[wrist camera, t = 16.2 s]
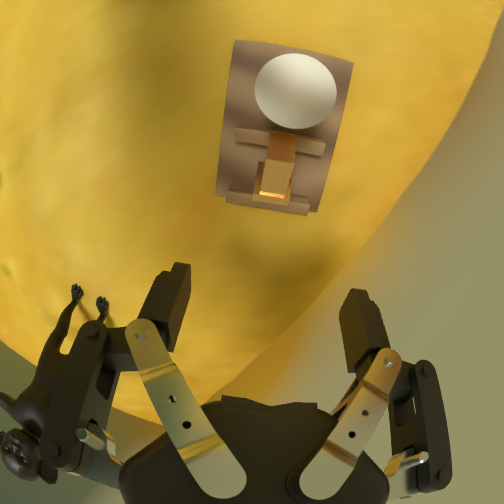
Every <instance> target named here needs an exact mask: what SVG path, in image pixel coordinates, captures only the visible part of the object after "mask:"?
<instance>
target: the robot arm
mask: <svg viewBox="0 0 504 504" xmlns="http://www.w3.org/2000/svg"><path fill="white" fill-rule="evenodd" d="M190 293H191V265H190V264H185V263H179V262H175V263H174V265H173V267H172V269H171V272H168V271H162V272H161V273H160V274H159V275H158V276H157V277H156V278H155V280H154V282H153V284H152V287H151V289H150V291H149V293H148V295H147V298H146V300H145V302H144V304H143V306H142V309H141V311H140V313H139V316H138V317H137V319H136V320H133V321H132V322H130V323H129V324H128V325H127V326H126V327H120V328H106V326H105V325H104V324H103V323H102V322H100V321H97V320H92V321H88V322H86V323H85V324H83V325H82V326H81V328H80V329H79V332H78V334H77V336H76V338H75V341H74V343H73V345H72V348H71V350H70V352H69V355H68V357H67V360H66V362H65V365H64V367H63V370H62V373H61V375H60V378H59V381H58V383H57V386H56V389H55V392H54V395H53V398H52V401H51V404H50V407H49V410H48V414H47V417H46V420H45V424H44V428H43V431H42V435H41V439H40V443H39V451H40V454H41V457H42V458H43V460H44V461H45V462H46V463H47V464H48V465H49V466H51V467H54V468H57V469H59V470H61V471H64V472H66V473H70V474H73V475H77V476H83V477H86V478H88V479H91V480H93V481H96V482H99V483H102V484H104V485H107V486H110V487H113V488H116V489H120V492H121V494H122V497H123V499H124V502H125V504H386V502H387V501H388V500H393V499H397V498H400V499H403V498H409V497H413V496H418V495H422V494H426V493H430V492H434V491H438V490H441V489H444V488H445V487H446V486H447V485H448V484H449V483H450V480H451V478H452V461H451V452H450V442H449V435H448V428H447V422H446V416H445V411H444V405H443V400H442V396H441V391H440V386H439V382H438V378H437V374H436V370H435V368H434V366H433V365H432V364H431V363H430V362H429V361H427V360H420V361H418V362H417V363H416V364H415V365H414V364H411V363H408V362H404V361H402V360H401V357H400V355H399V354H398V353H397V352H396V351H395V350H393V349H391V347H390V344H389V340H388V336H387V333H386V330H385V326H384V325H383V320H382V318H381V313H380V310H379V308H378V307H377V305H376V304H375V302H374V301H371V300H370V299H369V296H368V293H367V291H366V290H362V289H355V288H352V289H351V290H350V292H349V293H348V295H347V297H346V299H345V301H344V303H343V305H342V307H341V309H340V313H339V321H340V326H341V332H342V338H343V344H344V350H345V356H346V362H347V368H348V373H356V378H355V379H354V381H353V382H352V384H351V385H350V387H349V388H348V390H347V391H346V393H345V394H344V396H343V398H342V399H341V400H340V402H339V403H338V405H337V406H336V407H335V408H334V409H333V410H332V412H331V413H330V414H329V413H327V412H325V411H322V410H320V409H317V403H301V402H294V403H288V404H282V405H277V406H267V405H264V404H261V403H258V402H255V401H252V400H249V399H247V398H240V397H232V396H225V395H222V398H221V401H214V402H209V403H206V404H203V405H201V406H199V404H198V402H197V401H196V399H195V397H194V396H193V394H192V392H191V390H190V389H189V387H188V385H187V383H186V381H185V380H184V378H183V376H182V374H181V372H180V370H179V369H178V367H177V365H176V364H174V363H173V361H172V359H171V357H170V355H169V353H168V352H173V351H174V348H175V344H176V341H177V338H178V334H179V331H180V327H181V324H182V321H183V317H184V314H185V311H186V308H187V305H188V301H189V298H190ZM121 371H139V373H140V376H141V379H142V381H143V383H144V386H145V388H146V390H147V392H148V395H149V397H150V399H151V401H152V403H153V405H154V407H155V409H156V412H157V414H158V416H159V418H160V420H161V421H162V423H163V425H164V427H165V429H166V432H165V433H164V434H162V435H161V436H160V437H158V438H157V439H156V440H154V441H153V442H151V443H150V444H149V445H147V446H146V447H145V448H143V449H142V450H141V451H139V452H138V453H136V454H135V455H134V456H132V457H131V458H129V459H128V460H127V461H126V462H125V463H124V464H123V465H122V464H121V463H120V462H119V460H118V459H117V457H116V454H115V443H114V440H113V439H112V437H111V436H110V435H109V434H108V433H106V432H105V430H106V426H107V422H108V417H109V413H110V409H111V405H112V401H113V398H114V394H115V390H116V387H117V383H118V379H119V376H120V372H121ZM413 398H414V403H415V409H416V414H415V410H414V404H413ZM387 406H388V410H389V420H390V432H391V446H392V457H391V458H390V459H389V461H388V463H387V466H386V467H385V470H384V471H385V474H384V472H383V471H382V470H381V469H380V468H379V467H378V466H377V465H376V464H375V463H374V462H373V460H372V459H371V458H370V457H369V456H368V455H367V454H366V453H365V452H364V450H363V449H364V447H365V446H366V444H367V443H368V441H369V439H370V437H371V436H372V434H373V432H374V430H375V428H376V427H377V425H378V423H379V421H380V420H381V418H382V416H383V414H384V412H385V410H386V408H387Z"/></svg>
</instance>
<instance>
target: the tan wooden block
mask: <svg viewBox="0 0 504 504" xmlns="http://www.w3.org/2000/svg"><path fill="white" fill-rule="evenodd" d="M295 147H296V134H292V133H287V132H282V131H276V130H270V134H269V139H268V145H267V150H266V155H265V160H264V162H260V161H258V167H257V173H256V179H255V186H254V192H253V198H252V201H258V202H264V203H270V204H276V205H282V206H288V204H289V201H290V193H291V176H292V171H293V168H294V165H295Z"/></svg>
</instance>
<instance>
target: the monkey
mask: <svg viewBox="0 0 504 504" xmlns="http://www.w3.org/2000/svg"><path fill="white" fill-rule="evenodd" d="M73 287H74V289H73ZM76 287H77V284H75V286H74V285H72V290H71V292H72V301H71V303H70V304H69V305H68V306H67V307H66V308H65V309H64V310H63V312H62V313H61V315H60V318H59V320H58V323H57V325H56V327H55V329H54V330H53V332H52V333H51V334H50V336H49V338H48V340H47V341H46V343H45V346H44V348H43V351H42V353H41V356H40V359H39V362H38V366H37V369H36V373H35V376H34V379H33V381H32V383H31V385H30V386H29V387H28V388H27V389H25V390H24V391H23V392H22V393H21V394H20V395H19V397H18V398H17V399H16V400H15V399H13V398H12V397H10V396H9V395H7V394H5V393H2V392H0V406H1V407H2V408H3V409H4V410H5V411H6V412H7V413H8V414H9V415H10V416H11V417H12V418H13V419H14V420H15V421H16V422H18V423H19V424H20V425H21V427H22V430H20V429H17V428H14V429H12V430H10V431H8V432H7V433H5V432H3V431H2V432H0V453H1V458H2V461H3V463H4V465H5V466H6V467H7V469H8V470H9V471H10V472H11V473H13V474H14V475H16V476H17V477H19V478H21V479H23V480H28V481H34V480H37V479H38V478H41V479H42V480H43V481H45V482H46V483H48V484H56V481H57V478H58V470H57V468H54V467H51V466H49V465H48V464H47V463H46V462H45V461H44V460H43V458H42V457H41V454H40V451H39V443H40V442H39V440H40V439H41V435H42V431H43V428H44V424H45V420H46V417H47V414H48V410H49V407H50V404H51V401H52V398H53V395H54V392H55V389H56V386H57V383H58V381H59V378H60V375H61V373H62V370H63V367H64V365H65V362H66V360H67V357H68V355H69V354H67V355H64V354H61V353H60V347H61V344H62V342H63V340H64V338H65V337H66V336H67V333H68V329H69V325H70V320H71V315H72V312H73V310H74V308H75V307H76V305H77V304H78V299H79V298H80V297H81V295H82V290H81V291H80V286H79V287H78V288H76ZM79 291H80V292H79ZM98 300H99V301H98ZM96 305H97V308H98V310H99V312H100V316H99V317H98V319H97V321H100V322H102V323H103V321H104V319H105V318H106V316H107V314H106V310H107V305H108V302H106V303H105V297H104V298H103V302H102V301H101V297H99V298H97V300H96ZM119 462H120V461H119ZM120 463H121V464H122V465H123V463H122V462H120Z"/></svg>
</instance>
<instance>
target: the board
mask: <svg viewBox="0 0 504 504" xmlns="http://www.w3.org/2000/svg"><path fill="white" fill-rule="evenodd" d="M353 64H354V63H352V62H349V61H346V60H343V59H339V58H336V57H332V56H328V55H324V54H320V53H316V52H312V51H308V50H303V49H298V48H293V47H288V46H282V45H276V44H269V43H262V42H254V41H244V40H235V41H234V47H233V53H232V60H231V66H230V73H229V80H228V88H227V95H226V103H225V111H224V119H223V127H222V136H221V145H220V154H219V164H218V174H217V185H216V196H222V197H226V203H231V204H238V205H245V206H251V207H257V208H264V209H270V210H276V211H282V212H287V213H293V214H299V215H304V216H307V214H308V211H313V212H317V210H318V206H319V203H320V199H321V196H322V192H323V189H324V185H325V181H326V178H327V174H328V170H329V167H330V163H331V159H332V155H333V151H334V147H335V143H336V139H337V135H338V131H339V127H340V123H341V119H342V115H343V110H344V106H345V101H346V97H347V92H348V88H349V83H350V78H351V73H352V69H353ZM270 130H276V131H282V132H287V133H292V134H296V147H295V165H294V168H293V171H292V176H291V193H290V201H289V204H288V206H282V205H276V204H270V203H264V202H258V201H252V198H253V192H254V186H255V179H256V173H257V167H258V161H260V162H264V160H265V155H266V150H267V145H268V139H269V134H270Z"/></svg>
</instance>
